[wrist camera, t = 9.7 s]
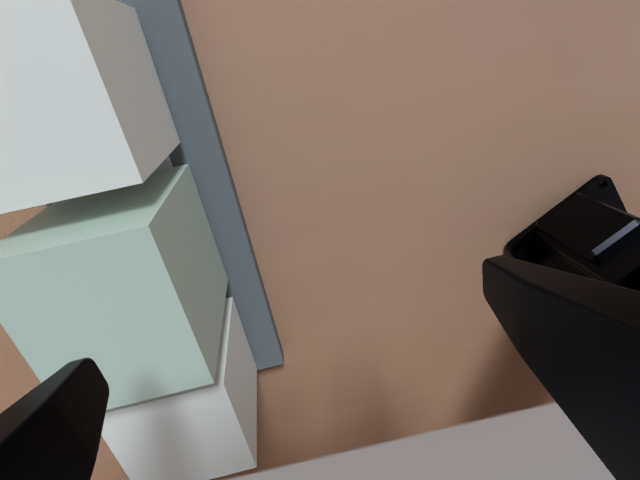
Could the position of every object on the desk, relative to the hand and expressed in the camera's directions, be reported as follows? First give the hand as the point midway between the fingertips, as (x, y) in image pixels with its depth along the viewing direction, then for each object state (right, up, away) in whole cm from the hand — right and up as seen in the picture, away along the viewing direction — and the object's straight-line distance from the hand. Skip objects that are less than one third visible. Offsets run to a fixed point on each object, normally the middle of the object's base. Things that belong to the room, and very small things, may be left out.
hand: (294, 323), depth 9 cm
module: (-7, +2, +9) cm, 12 cm away
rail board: (-7, +2, +11) cm, 13 cm away
